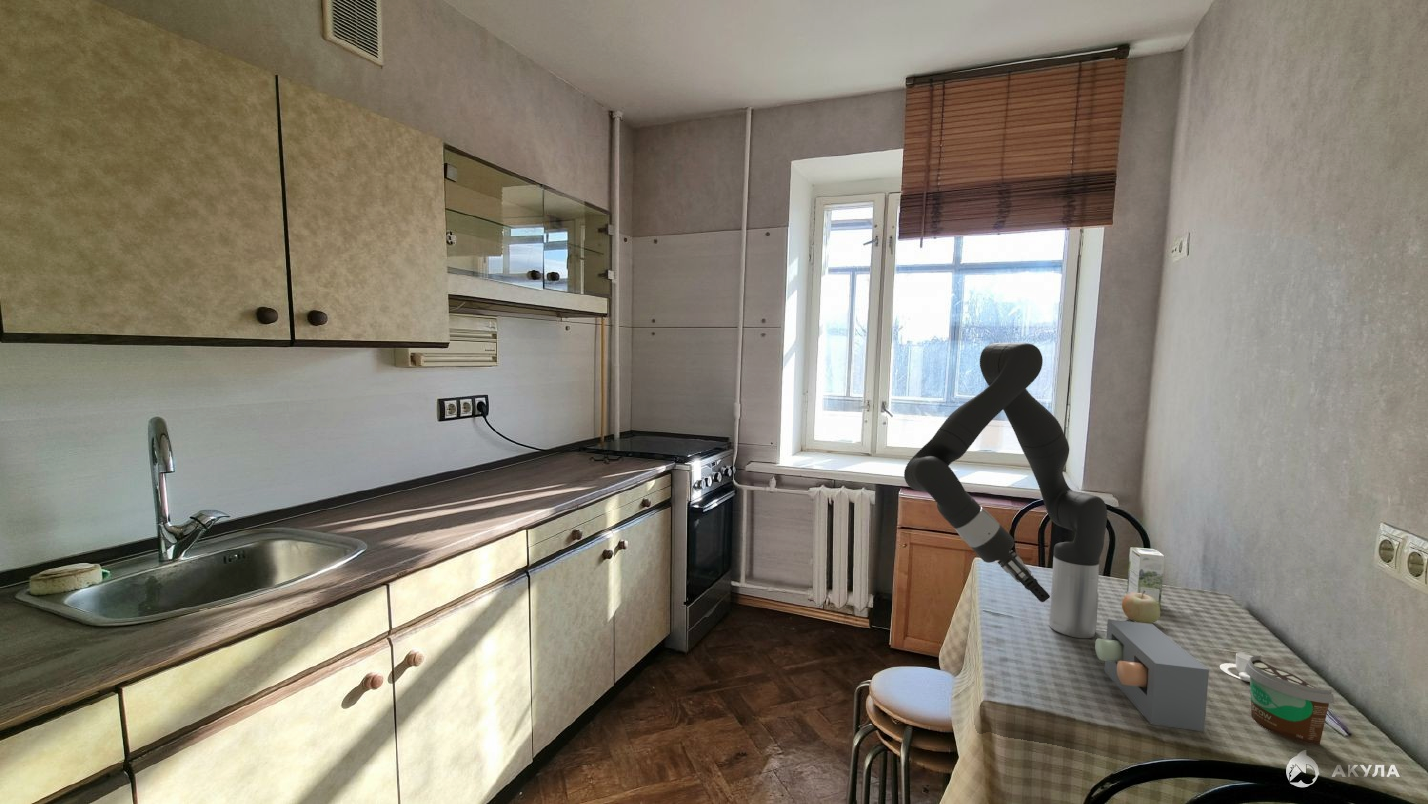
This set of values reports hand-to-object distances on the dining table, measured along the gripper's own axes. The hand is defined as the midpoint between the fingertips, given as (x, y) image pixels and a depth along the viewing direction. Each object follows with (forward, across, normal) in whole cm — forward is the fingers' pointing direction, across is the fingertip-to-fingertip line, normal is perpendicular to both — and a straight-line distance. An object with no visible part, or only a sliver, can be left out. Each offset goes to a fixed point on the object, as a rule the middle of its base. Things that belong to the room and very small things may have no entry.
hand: (1045, 598), depth 114 cm
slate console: (+23, -4, -1) cm, 24 cm away
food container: (+36, -9, -13) cm, 39 cm away
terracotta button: (+17, -9, -1) cm, 19 cm away
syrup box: (+40, +48, -17) cm, 64 cm away
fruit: (+35, +34, -12) cm, 50 cm away
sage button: (+17, 0, -1) cm, 17 cm away
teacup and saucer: (+39, +11, -16) cm, 44 cm away
